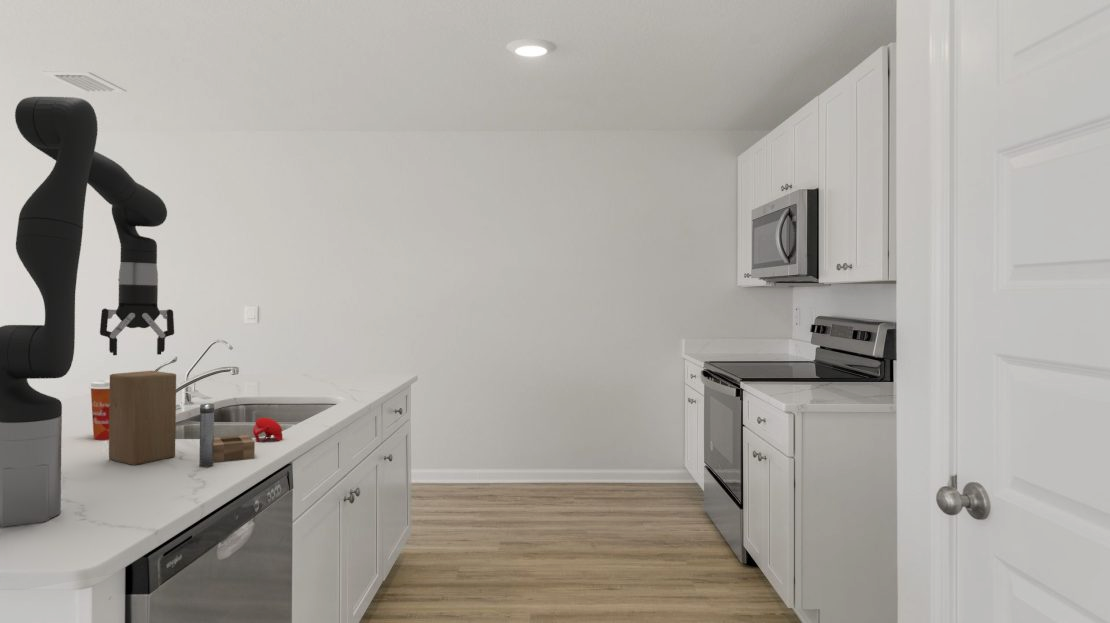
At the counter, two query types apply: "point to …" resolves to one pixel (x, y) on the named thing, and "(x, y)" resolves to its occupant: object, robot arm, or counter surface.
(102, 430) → the coffee cup
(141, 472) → the counter surface
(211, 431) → the grey metal cylinder
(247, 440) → the checkered wooden holder
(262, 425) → the cap
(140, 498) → the counter surface
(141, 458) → the wooden block
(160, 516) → the counter surface
